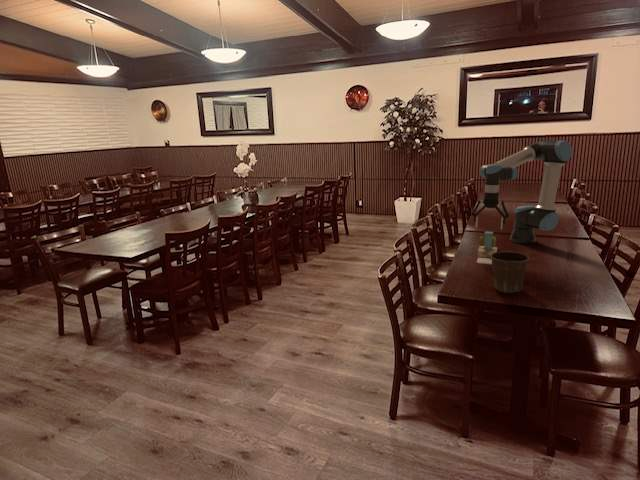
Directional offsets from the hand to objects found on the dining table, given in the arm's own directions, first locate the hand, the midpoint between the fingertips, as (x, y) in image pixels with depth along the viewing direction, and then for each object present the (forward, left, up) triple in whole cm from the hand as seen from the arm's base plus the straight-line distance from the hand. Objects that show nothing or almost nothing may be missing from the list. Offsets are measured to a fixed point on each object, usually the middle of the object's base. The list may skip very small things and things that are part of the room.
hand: (488, 228), depth 243 cm
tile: (0, +12, -17) cm, 21 cm away
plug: (0, 0, -17) cm, 17 cm away
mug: (0, -13, -17) cm, 21 cm away
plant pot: (-12, +52, -17) cm, 56 cm away
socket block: (0, 0, -17) cm, 17 cm away
